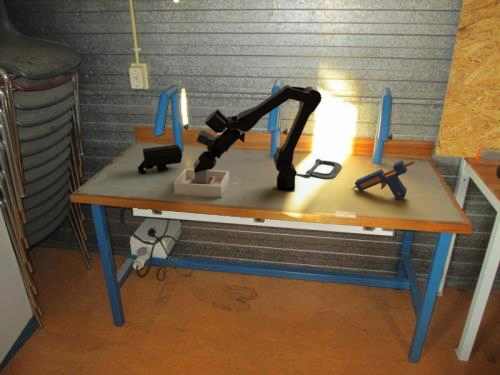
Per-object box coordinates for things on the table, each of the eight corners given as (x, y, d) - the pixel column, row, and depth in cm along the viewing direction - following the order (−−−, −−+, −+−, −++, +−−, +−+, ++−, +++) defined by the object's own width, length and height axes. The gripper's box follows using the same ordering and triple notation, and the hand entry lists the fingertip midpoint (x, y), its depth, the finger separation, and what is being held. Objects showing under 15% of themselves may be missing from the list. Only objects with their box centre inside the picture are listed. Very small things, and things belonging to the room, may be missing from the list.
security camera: (137, 170, 169) (134, 148, 165) (180, 164, 175) (178, 143, 171) (139, 176, 163) (136, 154, 159) (183, 170, 169) (182, 148, 165)
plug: (210, 183, 155) (208, 159, 151) (207, 188, 151) (205, 164, 147) (198, 182, 156) (197, 159, 152) (195, 187, 152) (193, 163, 148)
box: (229, 181, 159) (229, 171, 157) (221, 197, 146) (221, 186, 144) (186, 178, 161) (185, 168, 159) (174, 194, 149) (173, 183, 147)
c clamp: (328, 184, 157) (329, 178, 156) (289, 175, 165) (290, 169, 164) (346, 167, 173) (347, 161, 171) (310, 159, 181) (310, 154, 180)
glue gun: (365, 209, 155) (349, 183, 153) (428, 183, 142) (412, 153, 140) (363, 215, 151) (346, 187, 149) (428, 188, 138) (411, 158, 136)
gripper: (215, 117, 150) (189, 143, 157) (202, 132, 134) (174, 161, 140) (236, 138, 153) (210, 163, 159) (226, 155, 136) (197, 182, 143)
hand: (198, 166), depth 150 cm, fingers open, 9 cm apart
